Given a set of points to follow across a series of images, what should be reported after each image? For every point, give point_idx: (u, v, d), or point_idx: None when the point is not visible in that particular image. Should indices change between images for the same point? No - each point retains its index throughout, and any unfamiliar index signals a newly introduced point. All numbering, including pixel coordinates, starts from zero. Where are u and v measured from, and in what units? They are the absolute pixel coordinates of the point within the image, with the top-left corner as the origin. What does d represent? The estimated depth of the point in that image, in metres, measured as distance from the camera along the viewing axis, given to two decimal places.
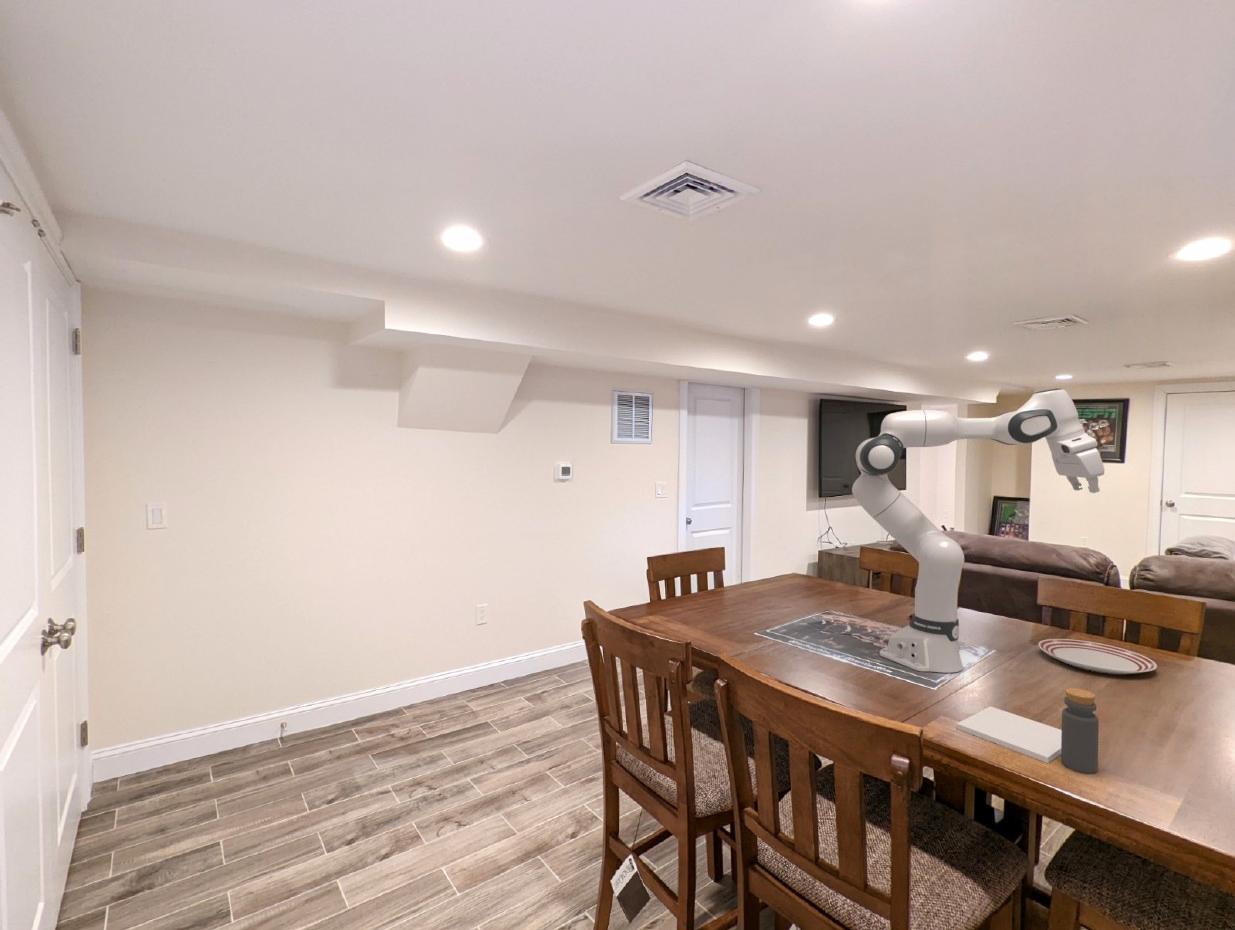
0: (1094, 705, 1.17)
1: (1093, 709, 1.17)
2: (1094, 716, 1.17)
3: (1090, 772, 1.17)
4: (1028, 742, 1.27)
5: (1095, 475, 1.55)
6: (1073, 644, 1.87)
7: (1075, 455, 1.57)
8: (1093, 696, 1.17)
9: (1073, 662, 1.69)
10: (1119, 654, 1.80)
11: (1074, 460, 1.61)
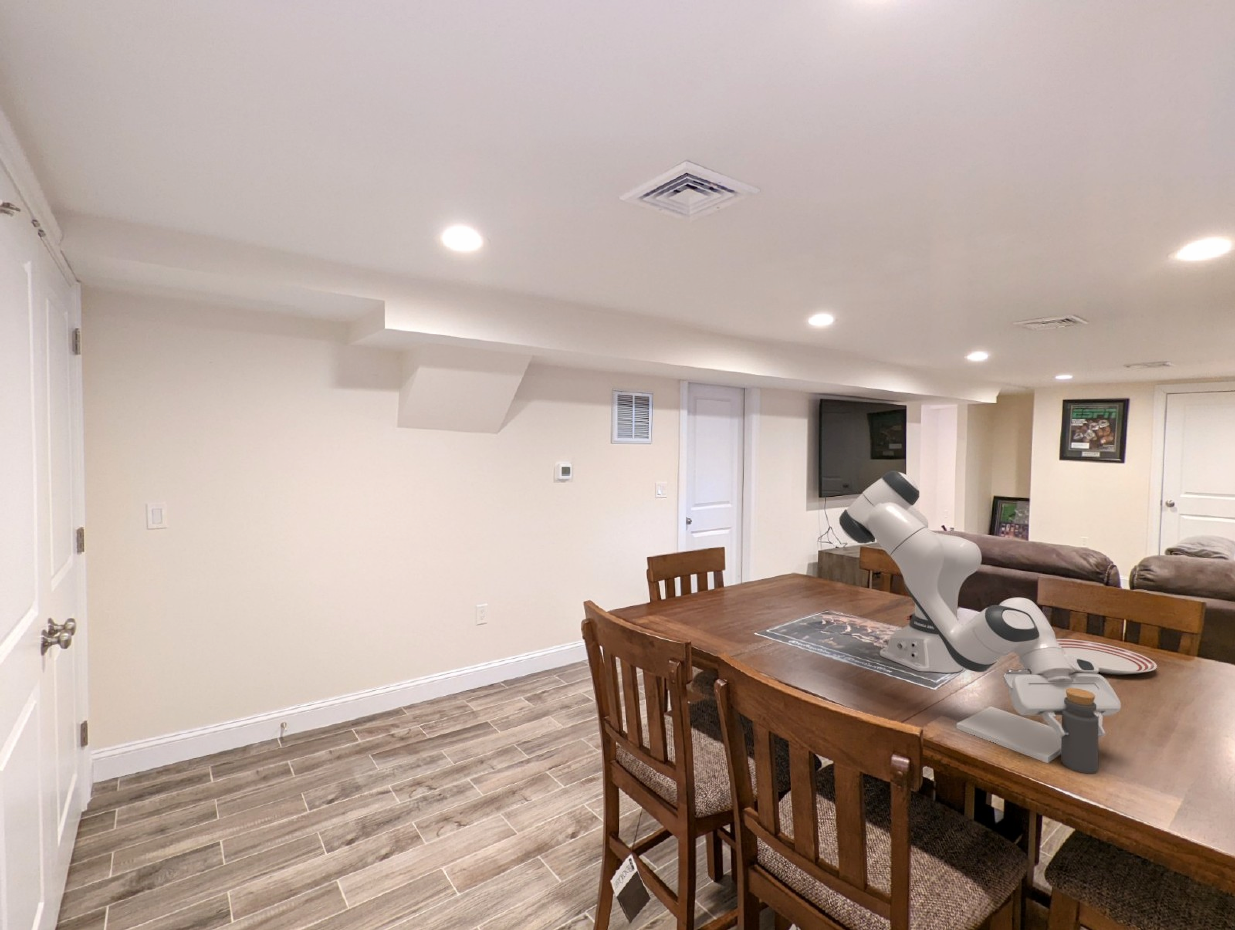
0: (1094, 705, 1.17)
1: (1093, 709, 1.17)
2: (1094, 716, 1.17)
3: (1090, 772, 1.17)
4: (1028, 742, 1.27)
5: None
6: (1073, 644, 1.87)
7: (1100, 675, 1.25)
8: (1093, 696, 1.17)
9: None
10: (1119, 654, 1.80)
11: (1081, 686, 1.24)
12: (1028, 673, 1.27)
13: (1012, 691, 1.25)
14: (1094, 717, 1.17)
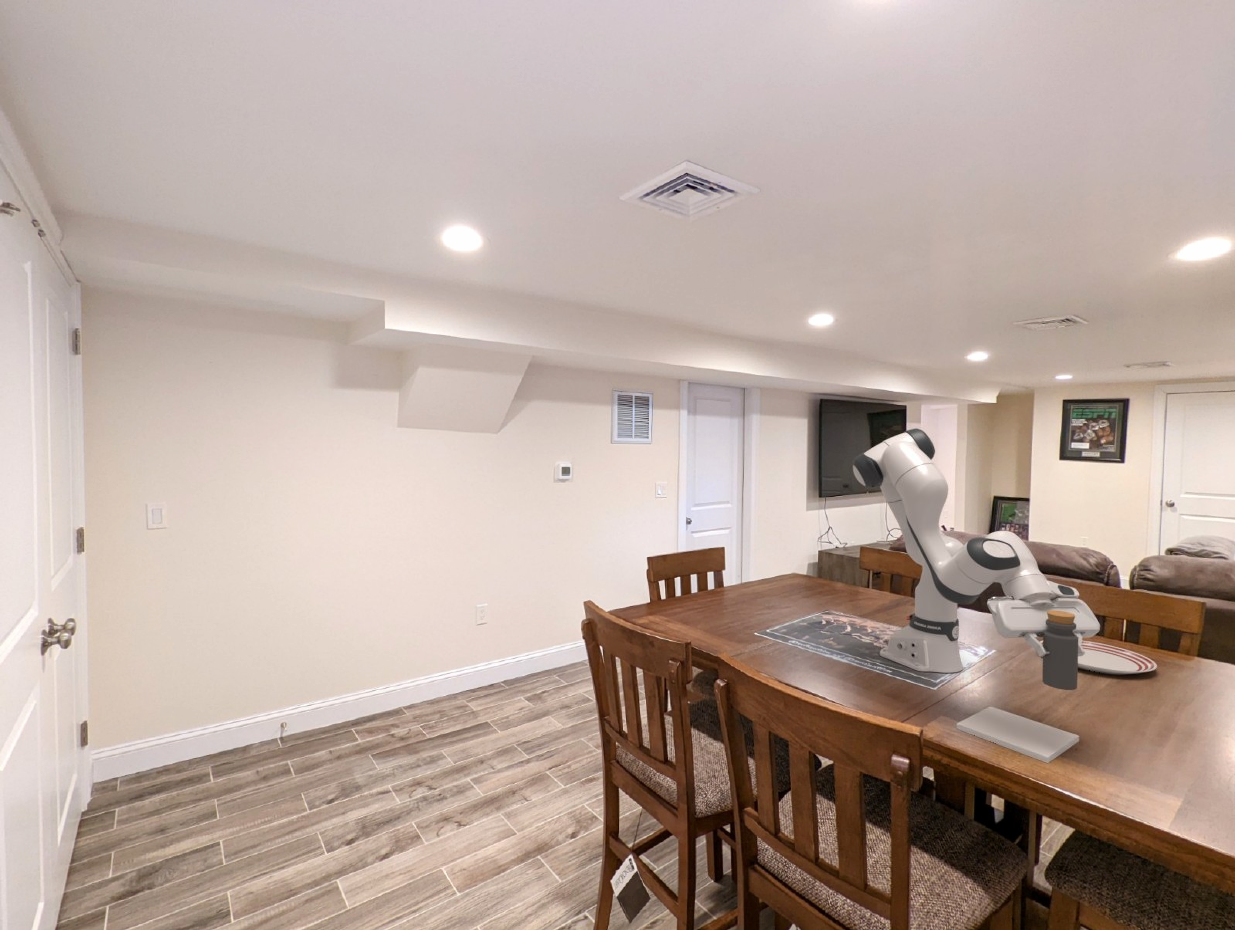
0: (1074, 624, 1.21)
1: (1073, 628, 1.21)
2: (1074, 635, 1.21)
3: (1070, 689, 1.21)
4: (1028, 742, 1.27)
5: None
6: None
7: (1080, 600, 1.29)
8: (1073, 615, 1.21)
9: None
10: (1119, 654, 1.80)
11: (1061, 610, 1.28)
12: (1011, 599, 1.31)
13: (995, 616, 1.29)
14: (1074, 636, 1.21)
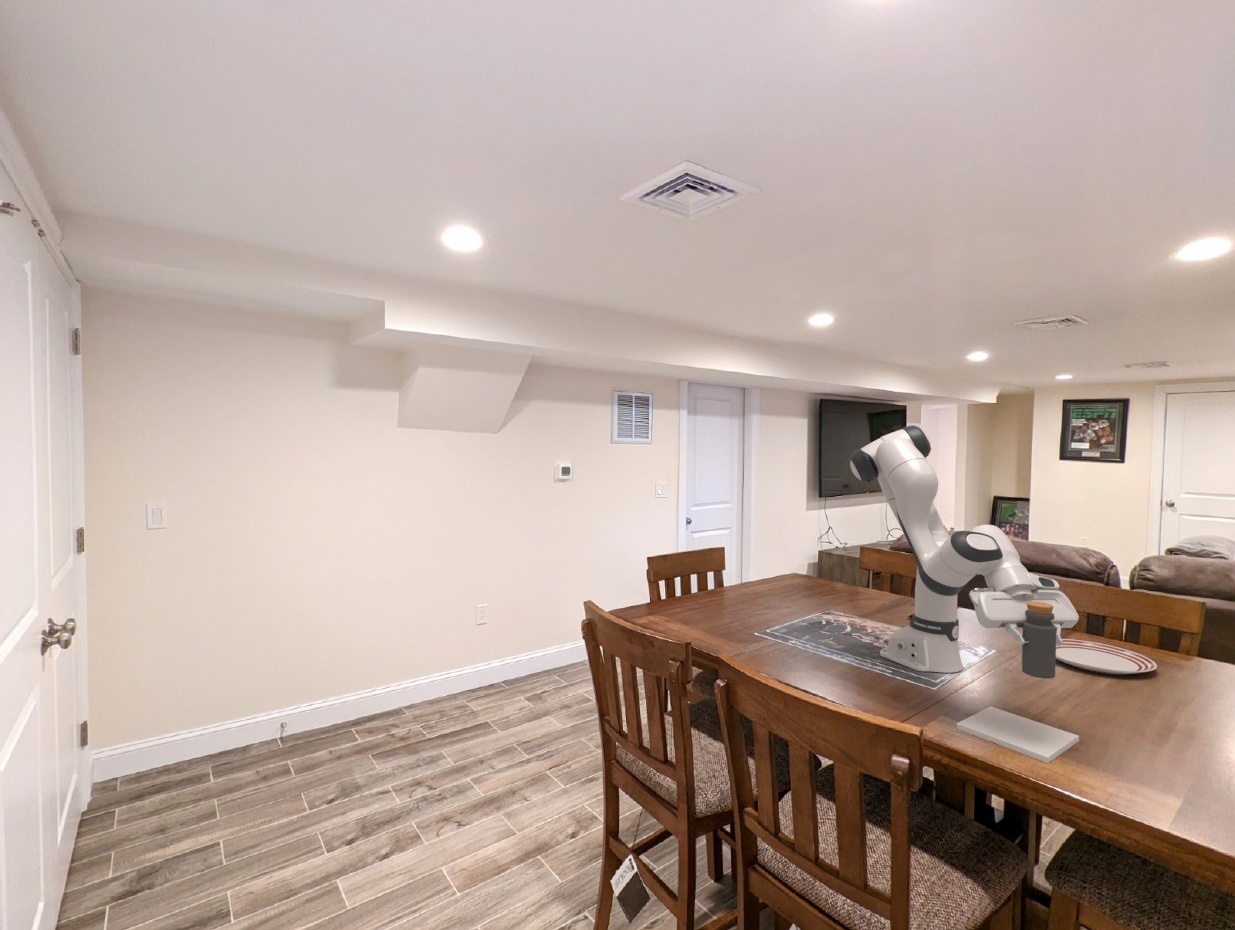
0: (1052, 615, 1.25)
1: (1051, 618, 1.24)
2: (1052, 625, 1.25)
3: (1047, 677, 1.24)
4: (1028, 742, 1.27)
5: None
6: (1073, 644, 1.87)
7: (1060, 591, 1.32)
8: (1051, 606, 1.25)
9: (1073, 662, 1.69)
10: (1119, 654, 1.80)
11: (1042, 601, 1.31)
12: (993, 591, 1.35)
13: (977, 606, 1.33)
14: (1052, 626, 1.24)
